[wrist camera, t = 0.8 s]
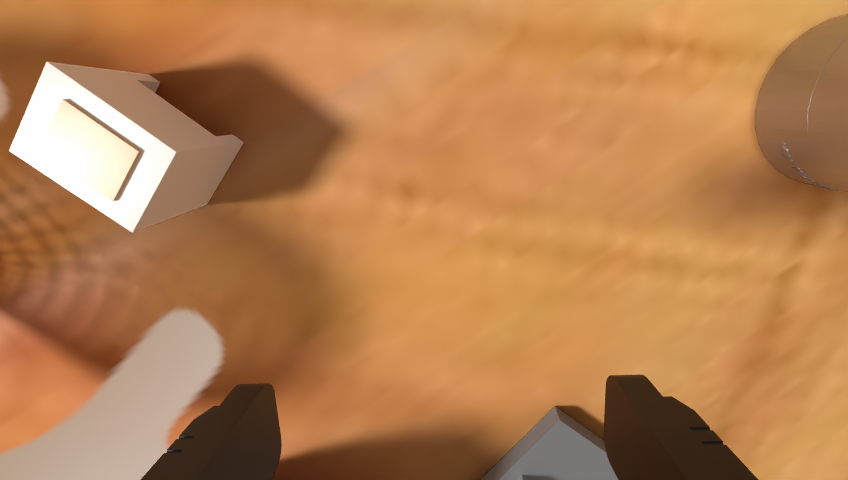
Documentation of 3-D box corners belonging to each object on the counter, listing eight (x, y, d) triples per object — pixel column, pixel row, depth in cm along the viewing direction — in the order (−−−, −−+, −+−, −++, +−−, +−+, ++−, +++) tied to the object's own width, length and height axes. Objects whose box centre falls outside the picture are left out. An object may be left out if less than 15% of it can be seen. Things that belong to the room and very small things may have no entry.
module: (115, 141, 28) (4, 151, 21) (148, 74, 27) (42, 61, 20) (207, 204, 29) (129, 233, 22) (244, 142, 27) (173, 152, 21)
